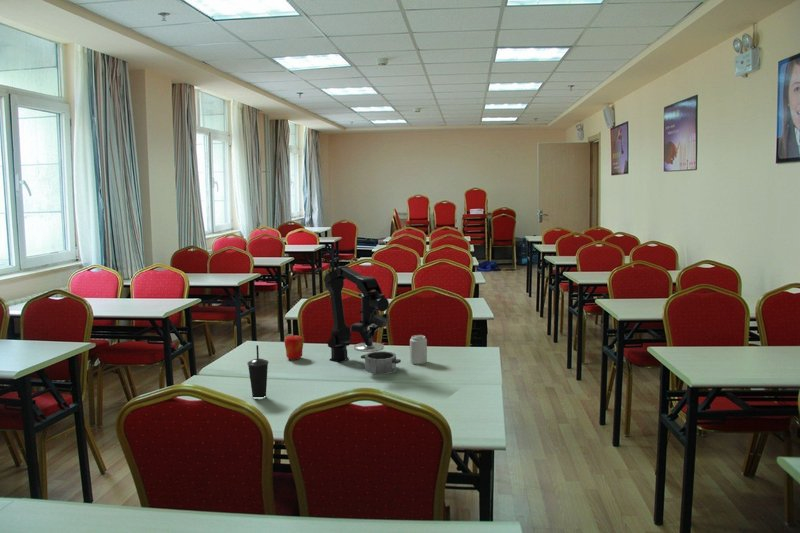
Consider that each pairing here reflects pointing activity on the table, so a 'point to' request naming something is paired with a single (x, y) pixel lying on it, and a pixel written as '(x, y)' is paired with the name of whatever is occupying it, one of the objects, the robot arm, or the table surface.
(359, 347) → the lid
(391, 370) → the pot
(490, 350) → the table surface
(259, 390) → the drinking cup
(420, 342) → the can
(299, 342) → the red bell pepper
